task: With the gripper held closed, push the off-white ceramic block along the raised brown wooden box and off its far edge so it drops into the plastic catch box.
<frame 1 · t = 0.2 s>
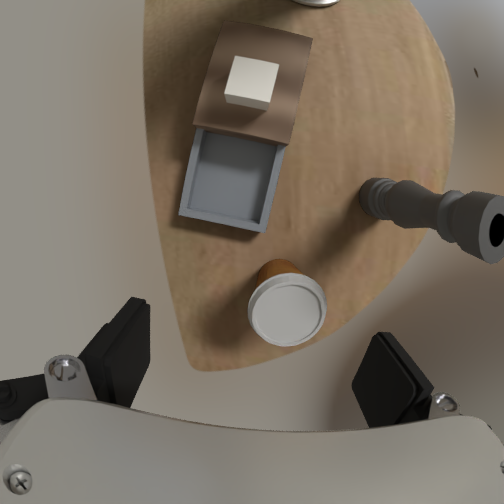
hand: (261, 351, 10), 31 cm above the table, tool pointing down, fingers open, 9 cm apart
candle holder: (376, 197, 40), on the table
brown wooden box: (253, 88, 35), on the table
catch box: (231, 179, 38), on the table
disposable coffee cup: (278, 278, 43), on the table
white block: (251, 88, 29), point 6 cm above the table, touching brown wooden box
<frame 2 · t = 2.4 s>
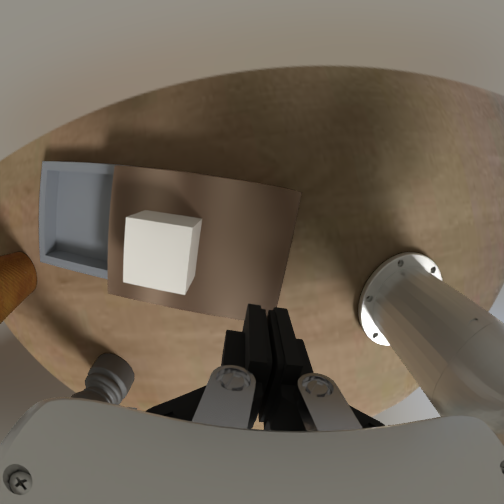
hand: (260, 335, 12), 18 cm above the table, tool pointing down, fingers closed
candle holder: (115, 369, 34), on the table
brown wooden box: (203, 232, 29), on the table
catch box: (89, 214, 28), on the table
disposable coffee cup: (24, 272, 30), on the table
white block: (169, 243, 23), point 6 cm above the table, touching brown wooden box
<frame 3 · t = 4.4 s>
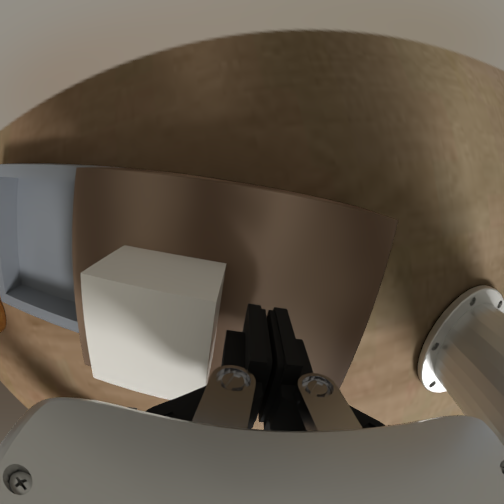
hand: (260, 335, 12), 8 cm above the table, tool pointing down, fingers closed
brown wooden box: (224, 270, 19), on the table
catch box: (57, 238, 18), on the table
white block: (169, 302, 13), point 6 cm above the table, touching gripper
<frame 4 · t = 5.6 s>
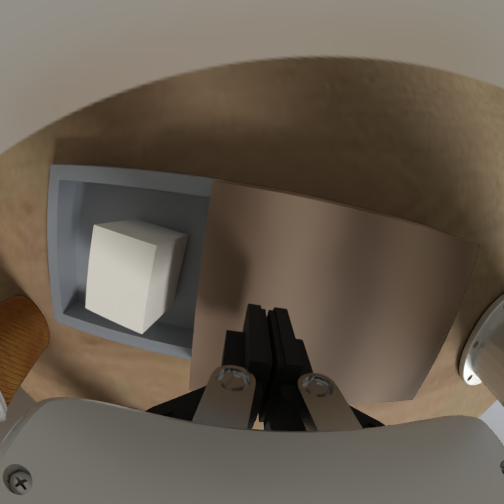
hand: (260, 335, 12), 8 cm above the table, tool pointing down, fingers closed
brown wooden box: (322, 284, 20), on the table
catch box: (132, 252, 19), on the table
disposable coffee cup: (30, 321, 21), on the table
white block: (166, 280, 16), point 4 cm above the table, tilted 97°, touching catch box
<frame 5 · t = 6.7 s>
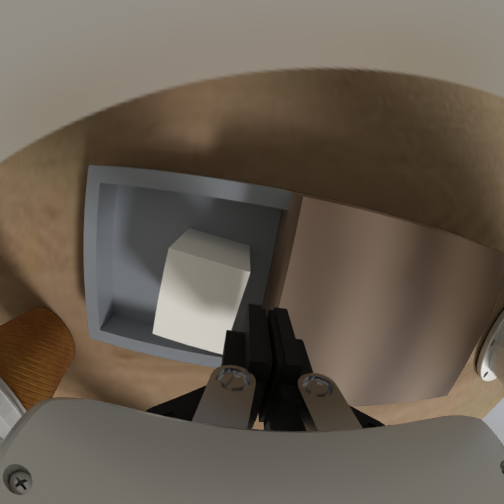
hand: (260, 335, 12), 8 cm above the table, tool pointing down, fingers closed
brown wooden box: (370, 292, 19), on the table
catch box: (180, 262, 19), on the table
disposable coffee cup: (51, 334, 21), on the table
white block: (237, 296, 16), point 3 cm above the table, tilted 90°, touching catch box
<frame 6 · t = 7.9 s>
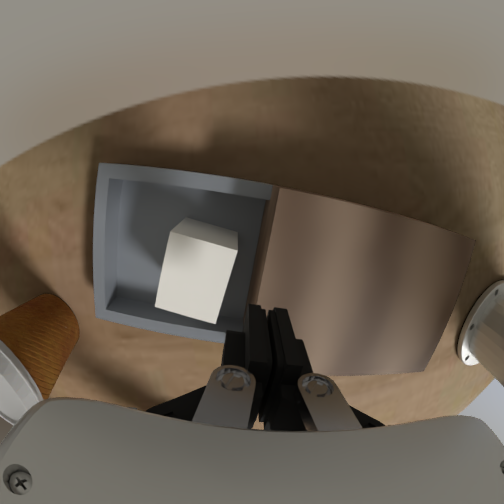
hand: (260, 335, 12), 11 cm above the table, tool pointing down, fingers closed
brown wooden box: (346, 274, 22), on the table
catch box: (177, 248, 21), on the table
disposable coffee cup: (56, 320, 23), on the table
white block: (227, 274, 19), point 3 cm above the table, tilted 90°, touching catch box
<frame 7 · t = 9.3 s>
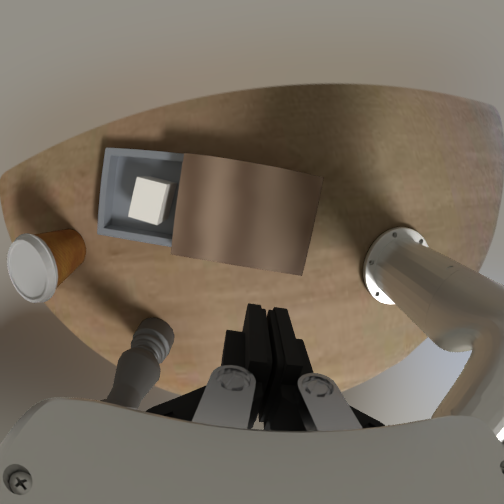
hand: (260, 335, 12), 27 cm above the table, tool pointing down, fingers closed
candle holder: (156, 333, 42), on the table
brown wooden box: (245, 209, 37), on the table
catch box: (146, 194, 36), on the table
disposable coffee cup: (71, 247, 38), on the table
white block: (167, 202, 34), point 3 cm above the table, tilted 90°, touching catch box
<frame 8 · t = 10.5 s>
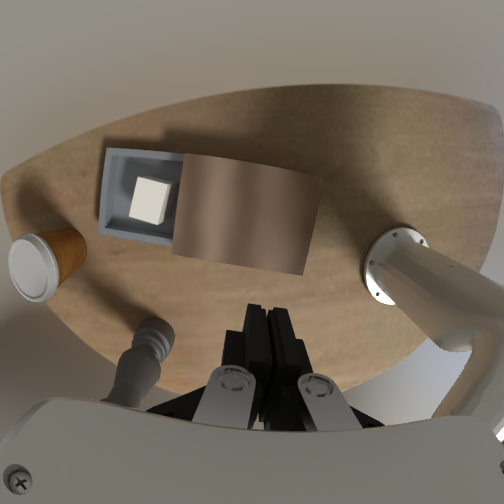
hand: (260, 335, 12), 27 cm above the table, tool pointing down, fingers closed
candle holder: (157, 332, 42), on the table
brown wooden box: (245, 209, 37), on the table
catch box: (147, 194, 36), on the table
disposable coffee cup: (72, 247, 38), on the table
white block: (168, 202, 34), point 3 cm above the table, tilted 90°, touching catch box
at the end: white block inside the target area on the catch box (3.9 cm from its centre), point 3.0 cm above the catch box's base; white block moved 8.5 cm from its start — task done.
